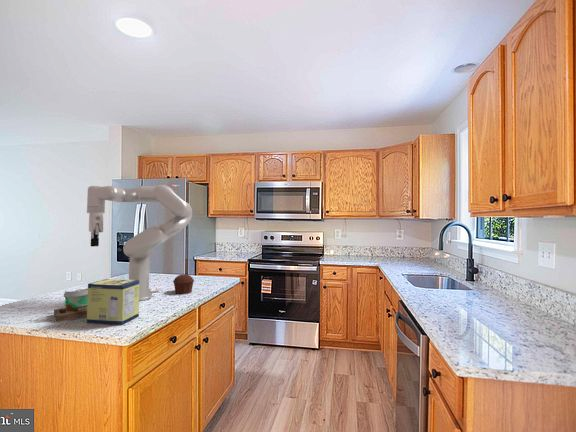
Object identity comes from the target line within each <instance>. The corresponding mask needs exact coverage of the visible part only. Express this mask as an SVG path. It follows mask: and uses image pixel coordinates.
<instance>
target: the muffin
mask: <svg viewBox="0 0 576 432" xmlns="http://www.w3.org/2000/svg"><path fill="white" fill-rule="evenodd" d="M194 281H195V280H194V278H193V277H192V276H191V275H190V274H186V273H185V274H183V273H182V274H179V275H177V276H176V277H175V278H174V280H172V284H174V293H175V294H176V295H187V294H191V293H192V290H193V285H194Z"/></svg>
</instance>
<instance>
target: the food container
mask: <svg viewBox="0 0 576 432" xmlns="http://www.w3.org/2000/svg"><path fill="white" fill-rule="evenodd" d="M63 298H64V300H65V303H64V304H65V308H66V313H71V312H77V311H83V310H87V300H88V287H87V288H80V289H76V290H74V291H66V290H65V291H64V293H63Z"/></svg>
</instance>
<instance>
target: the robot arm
mask: <svg viewBox="0 0 576 432" xmlns="http://www.w3.org/2000/svg"><path fill="white" fill-rule="evenodd" d="M86 199H87V200H86V201H87V203H86V204H87V205H86V214H88V232H89V233H90V247H99V246H100V245H99V243H100V238H99V237H100V233H103V232H104V214H105V208H106V207H105V205H106V201H109V202H116V203H159V204H161V205H162V206H163V207H164V208H166V210H168V212H170V213H171V214H173V216H172V217H171V218H168V219H167V220H166V221H163V222H162V223H161V224H158V225H156V226H154V225H153V226H150V227H148V228H146V229H144V230H143V231H141V232H139V233H137V234H136V235H135V236H133V237H131V238H130V239H128V240H127V241H126V242H125V243H124V244H123V247H122V249H123V254H124V255H125V256H126V257H128V258H129V261H128V262H129V264H128V280H139V302H141V301H145V300H146V301H147V300H149V299H151V298H152V297H153V295H152V294H157V293H159V292H160V291H159V288H150V267H151V266H150V265H151V264H150V263H151V262H150V261H151V255H152V254H151V253H152V249H153V248H155V247H157V246H159V245H161V244H163V243H165V242H166V241H167V240H169V239H170V238H172V237H173V236H175V235H176V234H179V233H180V231H182V230H184V229H186V227H187V226H188V225H189V224H190V222H191V220H192V218H193V209H192V206H191V204H189V202H187V201H184V200H183V199H182V198H181V197H180V196H179V195H177V194H176V193H175V191H174V190H173V189H172V188H171V187H170V186H168V185H165V184H158V185H156V186H155V185H152V186H151V185H140V186H138V187H136V188H122V187H121V188H119V187H116V186H114V185H113V186H112V185H105V186H99V185H98V186H97V185H90V186H88V187H87V197H86Z"/></svg>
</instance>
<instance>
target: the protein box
mask: <svg viewBox="0 0 576 432" xmlns="http://www.w3.org/2000/svg"><path fill="white" fill-rule="evenodd" d="M87 288H88V300H87V317H86V323H87V324H95V325H98V324H99V325H114V326H116V325H117V326H123V325H124V324H126V323H129V322H130V321H132V320H135V319H136V318H137V319H138V318H139V316H140V314H139V313H140V301H139V280H129V279H120V278H119V279H116V278H105V279H102V280H98V281H94V282H89V283H87Z"/></svg>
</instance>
